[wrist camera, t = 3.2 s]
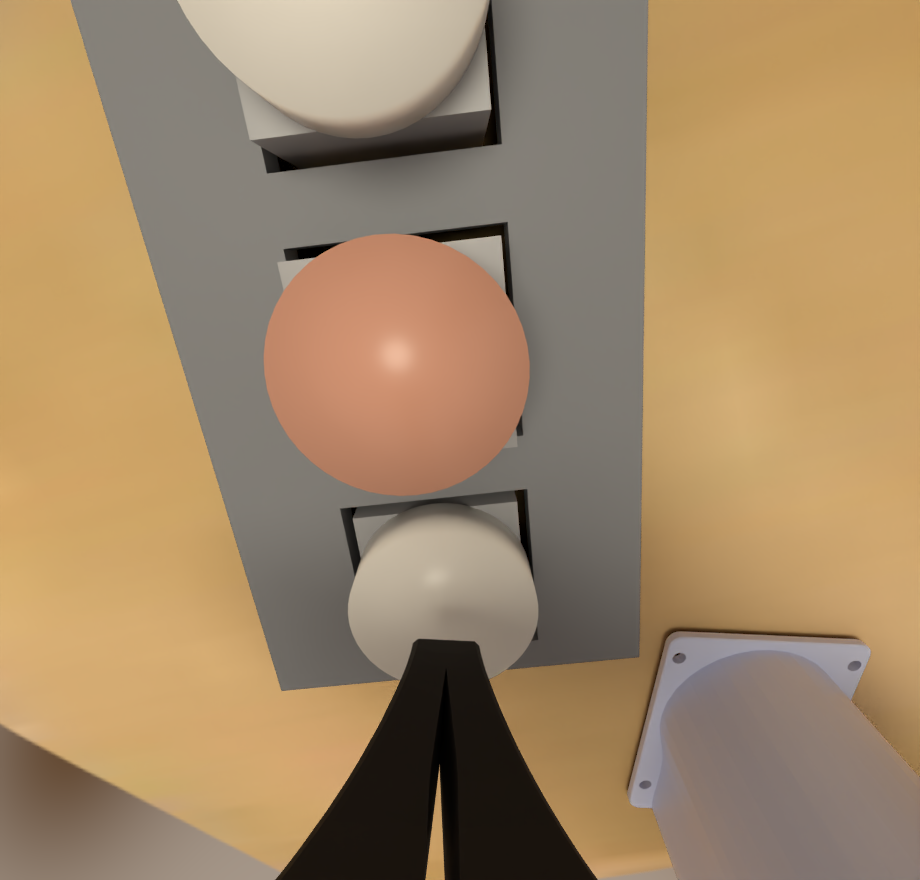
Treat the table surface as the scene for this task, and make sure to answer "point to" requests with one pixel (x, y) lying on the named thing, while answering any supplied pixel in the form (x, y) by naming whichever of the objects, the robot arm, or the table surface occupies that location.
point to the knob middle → (398, 361)
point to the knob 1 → (353, 74)
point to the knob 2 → (442, 579)
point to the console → (410, 213)
